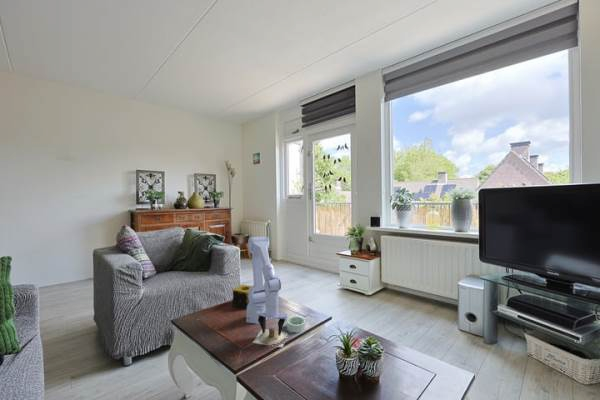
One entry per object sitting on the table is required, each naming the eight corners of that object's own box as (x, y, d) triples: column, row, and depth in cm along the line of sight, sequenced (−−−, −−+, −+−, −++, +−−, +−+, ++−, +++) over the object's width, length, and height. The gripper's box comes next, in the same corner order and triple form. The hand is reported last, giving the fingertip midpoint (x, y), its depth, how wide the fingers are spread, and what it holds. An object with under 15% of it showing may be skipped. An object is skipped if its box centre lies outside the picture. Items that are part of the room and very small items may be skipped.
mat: (252, 343, 119) (252, 342, 119) (262, 329, 131) (262, 328, 131) (282, 348, 116) (282, 347, 116) (289, 333, 128) (289, 332, 128)
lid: (256, 342, 119) (256, 334, 119) (264, 329, 130) (264, 322, 130) (279, 346, 117) (279, 337, 117) (286, 332, 128) (286, 325, 127)
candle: (231, 306, 155) (231, 290, 154) (241, 300, 164) (241, 284, 164) (246, 310, 151) (247, 292, 151) (255, 302, 161) (256, 286, 160)
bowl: (284, 332, 129) (284, 324, 129) (289, 322, 138) (289, 315, 137) (303, 334, 127) (303, 326, 127) (306, 325, 136) (306, 317, 136)
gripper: (254, 306, 120) (253, 335, 121) (285, 310, 117) (284, 340, 118) (259, 300, 127) (259, 327, 128) (289, 303, 124) (288, 331, 125)
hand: (271, 333), depth 123 cm, fingers open, 7 cm apart
